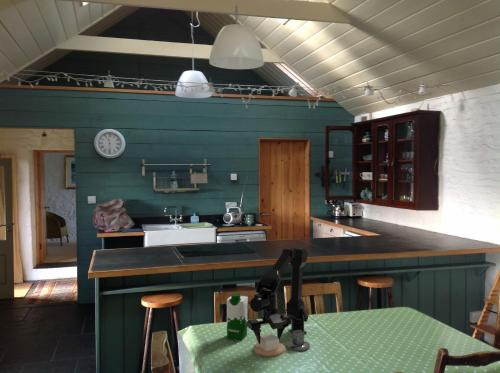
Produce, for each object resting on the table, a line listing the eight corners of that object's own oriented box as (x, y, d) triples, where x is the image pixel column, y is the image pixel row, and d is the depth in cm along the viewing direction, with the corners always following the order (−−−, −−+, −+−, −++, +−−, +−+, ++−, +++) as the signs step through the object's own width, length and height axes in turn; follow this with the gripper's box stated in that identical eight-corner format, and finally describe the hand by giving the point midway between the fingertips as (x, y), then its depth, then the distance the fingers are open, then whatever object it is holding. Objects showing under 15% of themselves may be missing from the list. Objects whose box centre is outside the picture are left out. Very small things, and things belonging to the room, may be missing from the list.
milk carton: (224, 339, 193) (224, 295, 192) (231, 332, 202) (232, 289, 201) (242, 342, 191) (243, 297, 190) (249, 334, 199) (249, 291, 198)
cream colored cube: (259, 345, 184) (259, 335, 184) (272, 343, 187) (272, 333, 186) (266, 351, 179) (266, 340, 178) (278, 348, 181) (278, 338, 181)
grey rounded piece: (282, 344, 189) (282, 329, 188) (302, 340, 193) (302, 326, 193) (293, 353, 180) (294, 337, 179) (314, 349, 184) (314, 334, 184)
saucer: (248, 346, 186) (248, 343, 186) (275, 341, 191) (275, 339, 191) (261, 358, 174) (262, 355, 174) (290, 353, 180) (290, 350, 179)
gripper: (257, 314, 171) (257, 353, 171) (298, 308, 178) (298, 345, 179) (246, 306, 181) (245, 342, 182) (285, 300, 189) (284, 335, 189)
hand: (269, 342), depth 183 cm, fingers open, 9 cm apart
